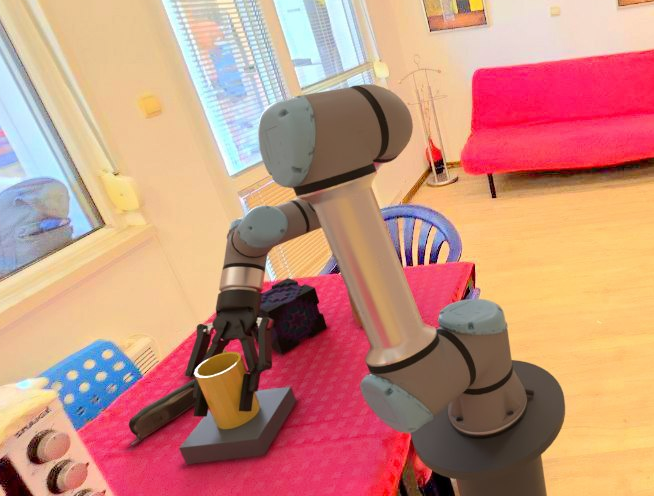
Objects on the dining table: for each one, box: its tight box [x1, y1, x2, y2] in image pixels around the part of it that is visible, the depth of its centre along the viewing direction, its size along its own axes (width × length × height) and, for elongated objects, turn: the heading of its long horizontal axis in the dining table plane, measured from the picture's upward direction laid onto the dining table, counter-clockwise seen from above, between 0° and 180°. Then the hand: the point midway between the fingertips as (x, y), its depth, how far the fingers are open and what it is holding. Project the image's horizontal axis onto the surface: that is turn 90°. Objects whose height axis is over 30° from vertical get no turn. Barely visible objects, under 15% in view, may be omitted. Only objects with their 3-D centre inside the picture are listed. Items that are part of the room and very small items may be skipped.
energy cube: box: [253, 277, 328, 355], centre depth 130 cm, size 12×12×12 cm
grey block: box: [178, 386, 297, 465], centre depth 101 cm, size 14×14×4 cm
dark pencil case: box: [128, 378, 196, 447], centre depth 106 cm, size 5×3×15 cm
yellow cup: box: [194, 351, 260, 429], centre depth 98 cm, size 7×7×12 cm
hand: (222, 413), depth 96 cm, fingers closed on yellow cup, 7 cm apart
